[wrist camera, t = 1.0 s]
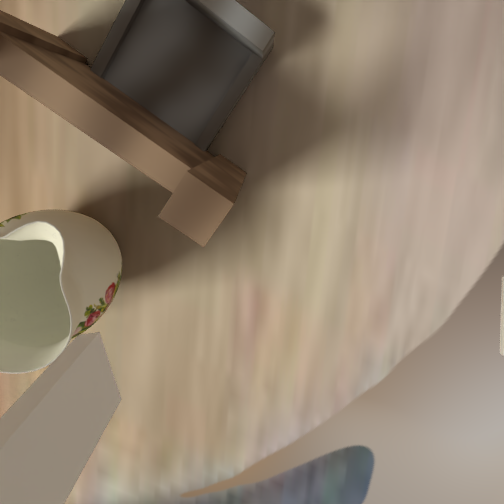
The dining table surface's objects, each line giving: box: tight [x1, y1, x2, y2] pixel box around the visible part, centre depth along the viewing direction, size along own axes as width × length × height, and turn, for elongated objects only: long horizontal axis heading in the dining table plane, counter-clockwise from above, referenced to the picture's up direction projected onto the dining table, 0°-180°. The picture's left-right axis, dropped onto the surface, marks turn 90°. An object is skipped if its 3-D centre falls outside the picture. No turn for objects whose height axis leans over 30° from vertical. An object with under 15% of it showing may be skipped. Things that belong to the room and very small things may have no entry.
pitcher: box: [0, 210, 122, 374], centre depth 32 cm, size 11×18×14 cm, turn 140°
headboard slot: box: [0, 0, 275, 247], centre depth 25 cm, size 20×13×16 cm, turn 55°
